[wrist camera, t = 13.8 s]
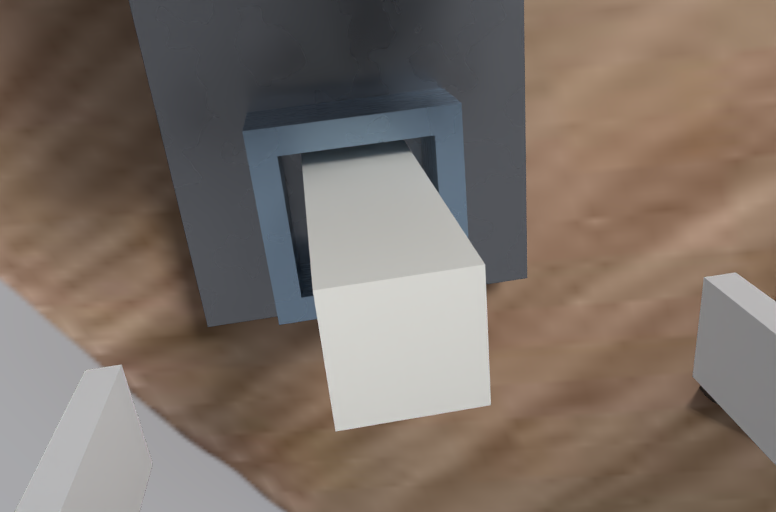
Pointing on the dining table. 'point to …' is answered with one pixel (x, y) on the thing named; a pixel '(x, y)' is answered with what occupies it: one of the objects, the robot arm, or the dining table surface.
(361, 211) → the plug
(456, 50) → the stepped holder stand
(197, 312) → the dining table surface
